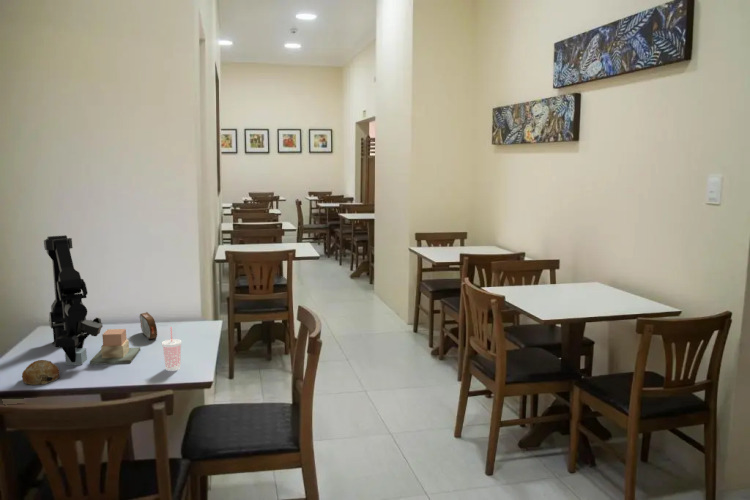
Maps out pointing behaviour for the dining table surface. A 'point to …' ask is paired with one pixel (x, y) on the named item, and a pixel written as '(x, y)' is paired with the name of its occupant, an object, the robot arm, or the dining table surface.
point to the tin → (148, 325)
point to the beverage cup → (172, 353)
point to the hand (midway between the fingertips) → (76, 359)
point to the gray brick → (77, 357)
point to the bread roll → (40, 372)
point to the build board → (115, 360)
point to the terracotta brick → (114, 337)
